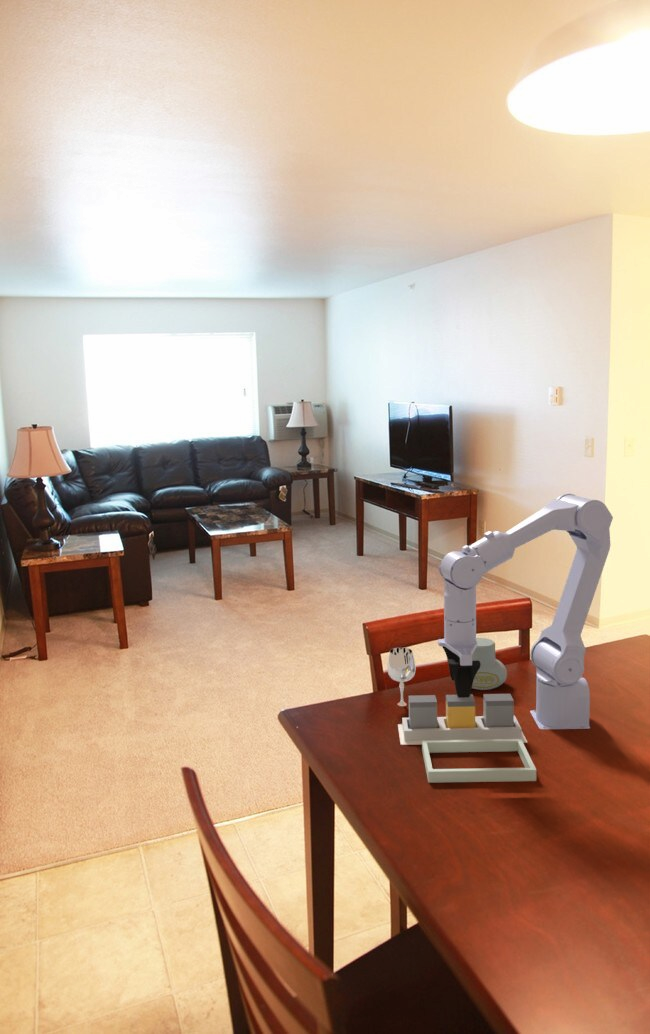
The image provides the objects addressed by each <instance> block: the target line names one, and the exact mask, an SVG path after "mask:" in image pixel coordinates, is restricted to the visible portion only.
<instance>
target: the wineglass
mask: <svg viewBox="0 0 650 1034" xmlns="http://www.w3.org/2000/svg"><path fill="white" fill-rule="evenodd" d="M416 666H417V665H416V660H415V655H414V650H412V649H411V648H408V647H404V646H403V647H401V646H399V647H394V648H391V649H390V650H389V652H388V657H387V663H386V667H387V670H386V671H387V674H388V676H389V678H390V679H391V680H393V681H396V682H398V683H399V686H398V687H399V690H400V691H399V692H400V701H399V702H397V706H399V707H406V706H407V703H406V702H405V700H404V691H405V690H404V689H405V683H406V682H408V681H410V680H412V679H413V678H414V677H415V674H416V670H417V669H416Z"/></svg>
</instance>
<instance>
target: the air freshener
mask: <svg viewBox="0 0 650 1034" xmlns="http://www.w3.org/2000/svg"><path fill="white" fill-rule="evenodd" d="M476 640H477V647H476V649H475V650H474V652H473V654H472V661H480V663H481V665H480V668H479V670H478V671H477V673H476V675H475V678H474V681H473V685H472V689H473V690H477V691H490V690H494V689H496V688H499V687H500V686H502V685H503V684H504V683H505V681H506V680H507V678H508V671H507V667H506V666H505V665H504V663H503V662H502V661H501V660H499V659H497V658H496V642H495V641H493V640H492V639H490V638H486V637H476ZM472 689H471V690H472Z"/></svg>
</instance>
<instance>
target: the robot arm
mask: <svg viewBox="0 0 650 1034" xmlns="http://www.w3.org/2000/svg"><path fill="white" fill-rule="evenodd" d="M613 520H614V517H613V515H612V513H611V512H610V510H609V508H608V507H607V505H606V504H605V503H604V502H603V501H602V500H601V501H600V500H597V499H591V498H586V497H581V496H577V495H575V494H573V493H563V494H561V495H560V496H558V497H556V498H555V499H552V500H549V501H548V502H547V504H546V505H545V506H544V507H543V508H541V509H539V510H537V511H536V512H535V513H533V514H532V515H530V516H528V517H527V518H525V519H524V520H522V521H521V522H520V523H519V522H518V523H517V525H514V526H513V527H511V528H510V529H508V530H507V531H506V532H502V531H500V530H493V531H490V530H488V531H486V532H484V533H483V536H484V537H482V538H480V539H479V540H476V541H474V543H471V544H469V545H467V544H466V545H464V546H462V547H461V550H460V551H459V550H457V551H456V550H453V551H450V552H448V553H446V555H444V557H443V559H441V562H440V565H438V567H437V569H438V572H439V573H438V574H439V575H440V576H441V578H442V579H443V580H444V581H443V588H444V589H443V623H444V624H443V627H444V628H443V630H444V631H443V632H444V633H443V634H444V635H443V637H444V638H442V639H441V638H438V639H437V645H438V646H439V647H442V649H443V650H444V653H445V656H446V661H447V665H448V669H449V675H450V678H451V681H454V687H455V692H456V693H455V694H456V695H457V696H458V698H466V697H469V696H470V694H471V693H472V685H473V681H474V678H475V675H476V673H477V671H478V670H479V668H480V665H481V663H480V661H472V654H473V652H474V650H475V649H476V647H477V640H476V638H477V586H478V584H479V583H480V582H481V580H482V578H483V576H484V575H485V574H486V573H488V572H490V571H492V570H493V569H495V568H497V567H499V566H500V565H502V564H504V563H505V562H508V561H509V560H510V559H512V558H513V557H514V554H515V550H516V549H517V548H520V547H521V546H523V545H525V544H527V543H529V542H531V541H533V540H536V539H537V538H539V537H542V536H543V535H545V534H547V533H549V532H551V531H553V530H556V531H566V532H567V533H568V534H569V536H570V537H571V539H572V541H573V542H574V545H575V546H576V550H575V554H574V557H573V559H572V563H571V566H570V569H569V572H568V575H567V578H566V580H565V583H564V587H563V590H562V593H561V596H560V599H559V602H558V605H557V608H556V611H555V614H554V618H553V620H552V623H551V625H549V626H547V627H546V628H544V629H543V630H541V633H540V635H539V637H538V639H537V640H536V642H534V643H533V645H532V646H531V649H530V653H529V655H530V661H531V663H532V664H533V665H534V666H535V668H536V669H535V671H536V691H535V692H536V697H535V698H536V699H535V702H536V703H535V705H536V706H535V709H533V710H530V711H529V712H530V715H531V716H532V717H533V720H534V722H535V723H536V725H537V727H538V728H539V729H540V730H572V729H573V730H577V729H578V730H579V729H581V730H583V729H584V730H585V729H591V726H590V706H591V695H590V694H591V693H590V687H589V683H588V681H587V679H586V678H585V677H582V676H583V674H584V671H585V662H584V661H585V659H584V658H585V654H586V651H587V649H586V647H585V644H584V641H583V639H582V636H581V635H582V632H583V629H584V626H585V624H586V620H587V618H588V614H589V611H590V608H591V605H592V602H593V600H594V597H595V593H596V591H597V588H598V585H599V583H600V579H601V577H602V573H603V570H604V567H605V565H606V561H607V558H608V555H609V552H610V548H611V535H610V533H611V532H610V529H611V525H612V522H613Z"/></svg>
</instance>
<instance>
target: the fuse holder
mask: <svg viewBox="0 0 650 1034" xmlns="http://www.w3.org/2000/svg"><path fill="white" fill-rule="evenodd" d="M401 719H402V721H401V723H399V724H397V729H398V735H399V742H400V744H399V745H401V746H403V745H404V746H405V745H406V746H407V745H408V746H409V745H413V746H414V745H415V746H416V745H422V740H476V739H522V741H523V744H528V743H529V742H528V740H527V739H526V736H525V734H524V732H523V731H522V726H521V724H520V723H519V721H518V718H517V717H516V716H515V715H514V726H513V727H484V725H483V715H481V716H480V715H479V716H477V715H475V728H446V716H437V728H427V729H409V717H402V718H401Z"/></svg>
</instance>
